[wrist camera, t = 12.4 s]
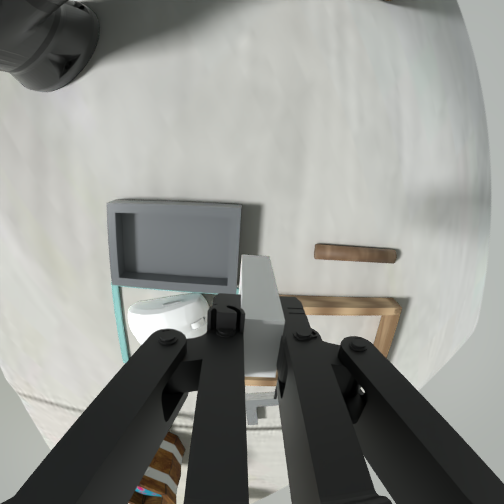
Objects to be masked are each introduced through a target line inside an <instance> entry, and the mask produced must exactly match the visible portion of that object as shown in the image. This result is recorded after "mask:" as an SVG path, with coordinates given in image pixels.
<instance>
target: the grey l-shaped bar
mask: <svg viewBox="0 0 504 504" xmlns="http://www.w3.org/2000/svg"><path fill="white" fill-rule="evenodd" d="M274 394H275V392H265V393H249V394H245V406H246V413H247V421H248V425H255V424H258V417H257V407H262V406H275V405H279V403H278V396H277V399H274Z"/></svg>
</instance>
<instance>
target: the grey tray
mask: <svg viewBox="0 0 504 504" xmlns="http://www.w3.org/2000/svg"><path fill="white" fill-rule="evenodd" d="M241 206H242V204H227V203H208V202H185V201H156V200H114V201H111V202H109V203H107V225H108V243H109V257H110V269H111V279H112V285H118V286H128V287H138V288H150V289H161V290H173V291H186V292H200V293H215V294H219V293H226V294H236V291H237V273H238V256H239V239H240V222H241Z"/></svg>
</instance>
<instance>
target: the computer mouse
mask: <svg viewBox="0 0 504 504" xmlns="http://www.w3.org/2000/svg"><path fill="white" fill-rule="evenodd" d="M208 309H209V305H208V303H207V301H206V299H205V298H204V297H203V295H202V294H201V293H191V294H183V295H176V296H170V297H164V298H158V299H152V300H146V301H140V302H137V303H134V304H132V305H131V306H130V308H129V310H128V322H129V327H130V329H131V331H132V333H133V334H134V336H135V337H136V339H137V340H138V342H139V343H140V344H141V345H142V344H143V343H144V342H145V341H146V340H147V338H148V337H149V336H150V335H151V334H152V333H154V332H155V331H157V330H160V329H175V330H178V331H180V332H182V333H183V334H184V335H185V336H186V339H188V338H195V337H199V336H202V335H203V334H205V333H206V332H207V311H208Z"/></svg>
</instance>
